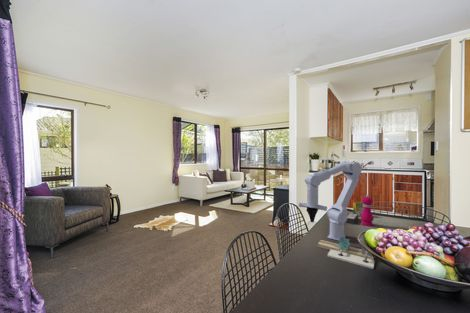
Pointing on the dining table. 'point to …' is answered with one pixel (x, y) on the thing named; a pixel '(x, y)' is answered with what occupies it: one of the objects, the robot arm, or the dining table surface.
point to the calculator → (352, 218)
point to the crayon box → (358, 208)
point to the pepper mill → (367, 211)
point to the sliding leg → (344, 244)
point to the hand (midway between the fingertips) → (312, 221)
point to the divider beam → (351, 250)
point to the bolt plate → (351, 258)
